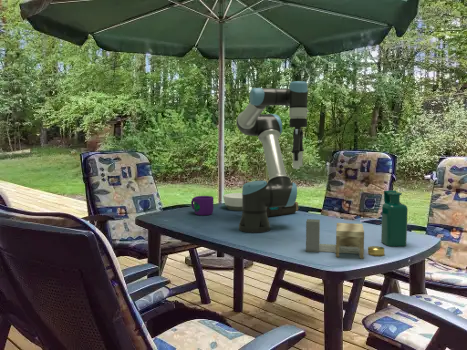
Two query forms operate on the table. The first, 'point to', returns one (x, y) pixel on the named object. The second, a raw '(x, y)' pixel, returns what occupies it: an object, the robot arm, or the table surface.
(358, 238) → the shelf
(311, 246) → the bracket
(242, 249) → the table surface
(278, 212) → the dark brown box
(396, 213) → the green bottle
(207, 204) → the mug
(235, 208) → the bowl
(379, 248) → the yellow lumpy disc
